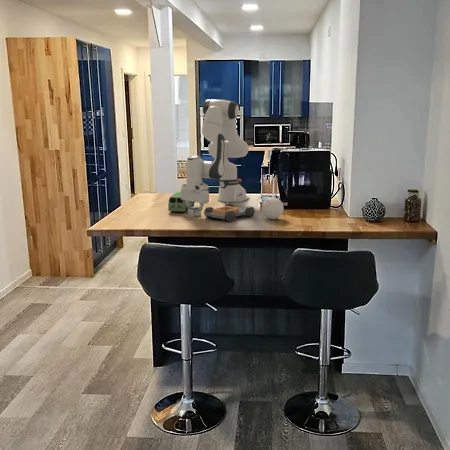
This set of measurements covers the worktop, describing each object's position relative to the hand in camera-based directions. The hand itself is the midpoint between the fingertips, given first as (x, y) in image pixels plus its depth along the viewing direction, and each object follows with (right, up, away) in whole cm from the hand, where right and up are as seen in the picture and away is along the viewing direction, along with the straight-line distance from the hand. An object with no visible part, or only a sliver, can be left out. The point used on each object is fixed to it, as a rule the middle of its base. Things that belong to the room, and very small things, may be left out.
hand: (194, 209), depth 288 cm
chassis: (+20, -5, -4) cm, 21 cm away
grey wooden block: (0, -4, +1) cm, 4 cm away
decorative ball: (+43, -6, -8) cm, 44 cm away
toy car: (-9, 0, +19) cm, 21 cm away
